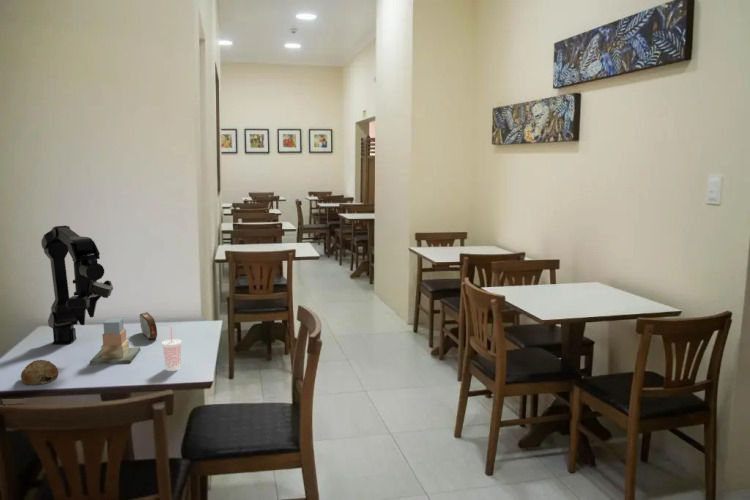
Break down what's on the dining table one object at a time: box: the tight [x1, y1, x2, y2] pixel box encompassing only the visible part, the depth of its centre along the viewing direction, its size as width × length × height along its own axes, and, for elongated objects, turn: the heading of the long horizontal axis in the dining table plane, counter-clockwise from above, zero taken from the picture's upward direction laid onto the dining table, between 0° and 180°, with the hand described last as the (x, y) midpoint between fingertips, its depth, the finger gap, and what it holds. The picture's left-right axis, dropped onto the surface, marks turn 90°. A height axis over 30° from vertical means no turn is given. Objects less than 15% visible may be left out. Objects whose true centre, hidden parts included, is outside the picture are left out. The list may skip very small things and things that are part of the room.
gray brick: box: [103, 317, 125, 334], centre depth 209 cm, size 5×5×4 cm
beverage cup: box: [161, 326, 182, 372], centre depth 200 cm, size 6×6×14 cm
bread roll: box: [20, 359, 59, 386], centre depth 191 cm, size 10×10×8 cm
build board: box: [89, 339, 141, 365], centre depth 211 cm, size 13×13×5 cm
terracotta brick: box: [101, 328, 128, 346], centre depth 210 cm, size 6×6×4 cm
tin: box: [139, 311, 158, 340], centre depth 234 cm, size 15×3×8 cm, turn 34°
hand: (87, 321), depth 208 cm, fingers open, 9 cm apart
